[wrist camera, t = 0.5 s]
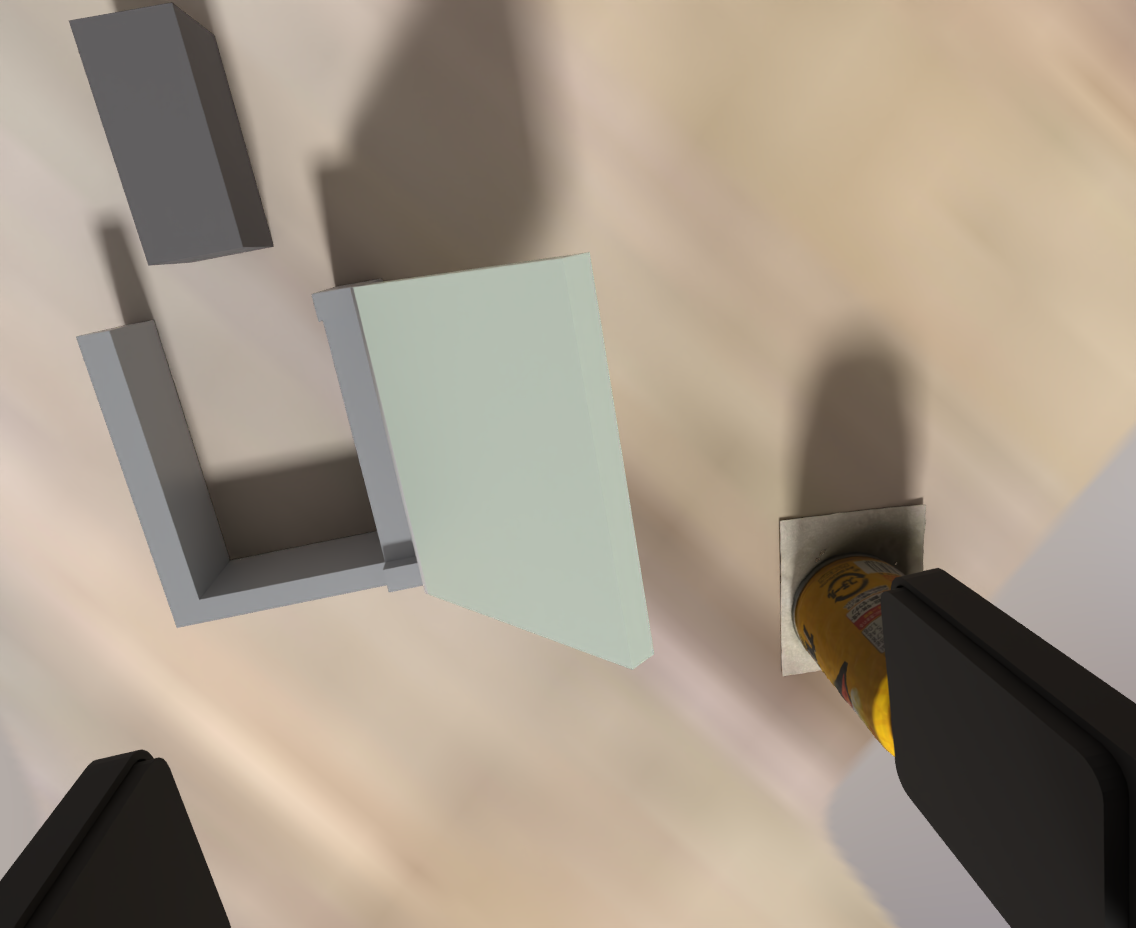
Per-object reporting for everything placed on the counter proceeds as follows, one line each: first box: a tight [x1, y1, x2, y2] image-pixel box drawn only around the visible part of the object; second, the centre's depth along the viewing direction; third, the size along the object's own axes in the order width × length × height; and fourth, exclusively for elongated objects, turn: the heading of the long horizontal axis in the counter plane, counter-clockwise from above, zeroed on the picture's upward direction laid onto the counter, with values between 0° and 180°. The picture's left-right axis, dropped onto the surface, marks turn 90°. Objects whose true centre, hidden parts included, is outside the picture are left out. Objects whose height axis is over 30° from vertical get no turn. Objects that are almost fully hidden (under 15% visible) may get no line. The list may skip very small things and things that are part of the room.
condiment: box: [780, 505, 926, 757], centre depth 35 cm, size 7×8×12 cm
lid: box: [350, 252, 654, 670], centre depth 27 cm, size 12×11×1 cm
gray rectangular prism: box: [69, 3, 274, 265], centre depth 30 cm, size 8×3×5 cm, turn 11°
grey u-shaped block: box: [76, 278, 423, 628], centre depth 33 cm, size 12×11×5 cm
